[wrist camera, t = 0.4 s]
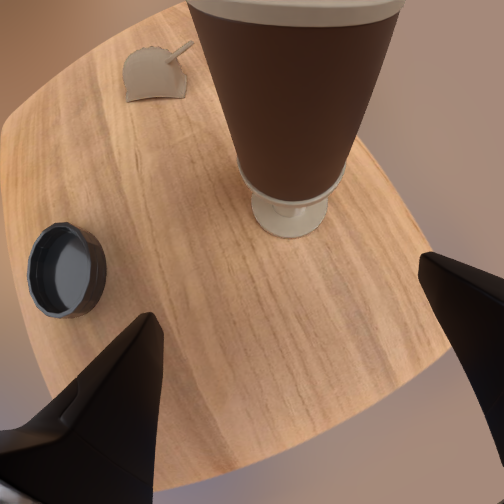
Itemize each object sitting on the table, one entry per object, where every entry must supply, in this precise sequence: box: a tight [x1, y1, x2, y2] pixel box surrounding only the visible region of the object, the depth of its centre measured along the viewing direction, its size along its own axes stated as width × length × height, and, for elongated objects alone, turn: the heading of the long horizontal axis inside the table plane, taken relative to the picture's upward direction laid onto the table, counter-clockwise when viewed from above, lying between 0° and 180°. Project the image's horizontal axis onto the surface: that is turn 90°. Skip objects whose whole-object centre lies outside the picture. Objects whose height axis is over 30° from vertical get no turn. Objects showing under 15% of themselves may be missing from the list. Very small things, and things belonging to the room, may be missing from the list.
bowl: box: [27, 222, 107, 318], centre depth 23 cm, size 8×8×2 cm
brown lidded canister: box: [186, 0, 405, 201], centre depth 10 cm, size 6×6×11 cm
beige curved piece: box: [123, 41, 194, 102], centre depth 24 cm, size 4×8×5 cm, turn 81°
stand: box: [237, 156, 346, 239], centre depth 19 cm, size 6×6×8 cm
